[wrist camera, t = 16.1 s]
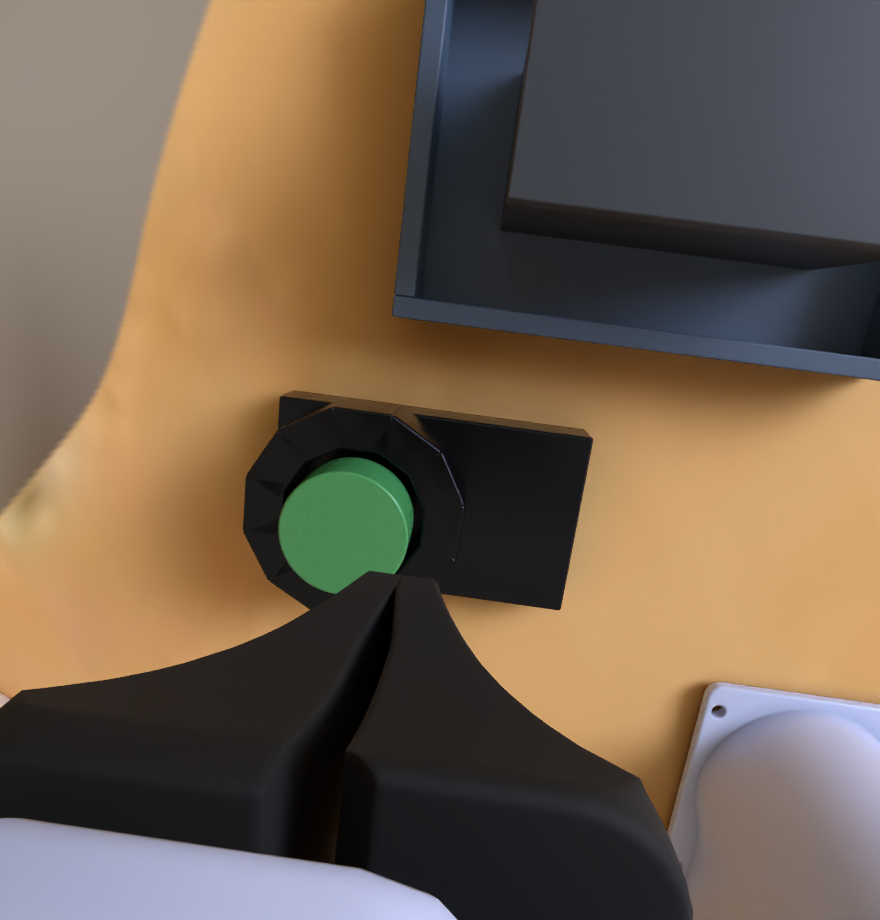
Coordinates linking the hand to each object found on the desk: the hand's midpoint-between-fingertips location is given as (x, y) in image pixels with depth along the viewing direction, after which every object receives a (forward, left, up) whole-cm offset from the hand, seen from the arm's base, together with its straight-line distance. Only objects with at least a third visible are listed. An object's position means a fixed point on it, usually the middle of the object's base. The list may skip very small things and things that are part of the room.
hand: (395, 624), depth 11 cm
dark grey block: (+11, -6, -10) cm, 16 cm away
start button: (-1, +2, -7) cm, 7 cm away
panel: (-1, 0, -10) cm, 10 cm away
